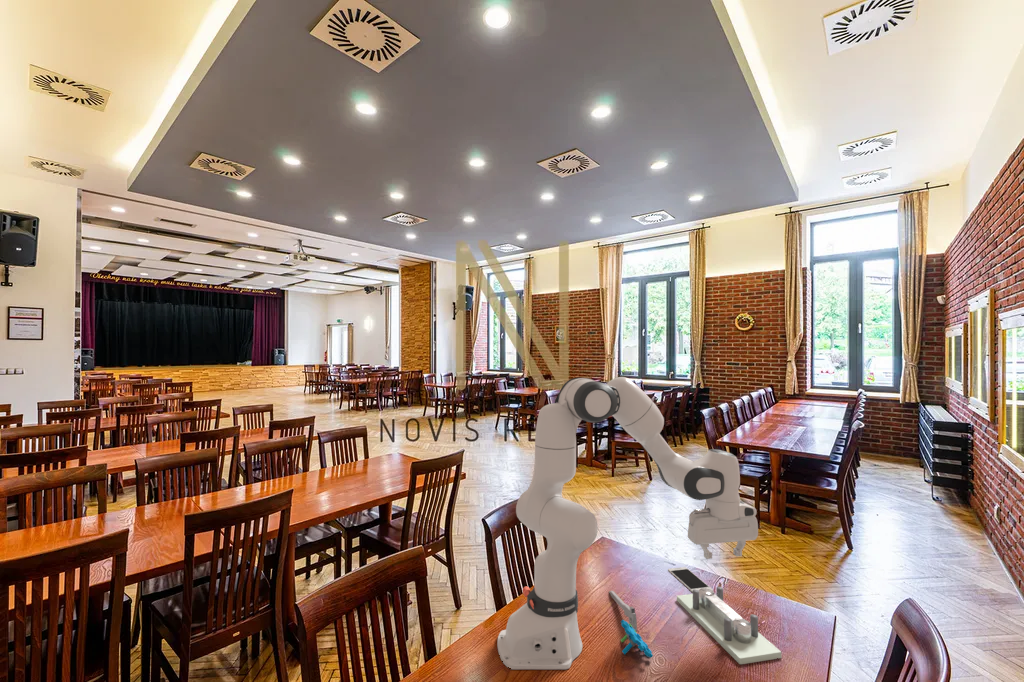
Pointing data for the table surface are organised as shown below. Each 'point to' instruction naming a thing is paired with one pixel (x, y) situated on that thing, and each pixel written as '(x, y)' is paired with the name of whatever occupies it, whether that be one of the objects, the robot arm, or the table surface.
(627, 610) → the caliper
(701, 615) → the board
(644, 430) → the robot arm
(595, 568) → the table surface
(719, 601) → the grey dumbbell
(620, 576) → the table surface
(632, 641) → the gear
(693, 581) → the smartphone
